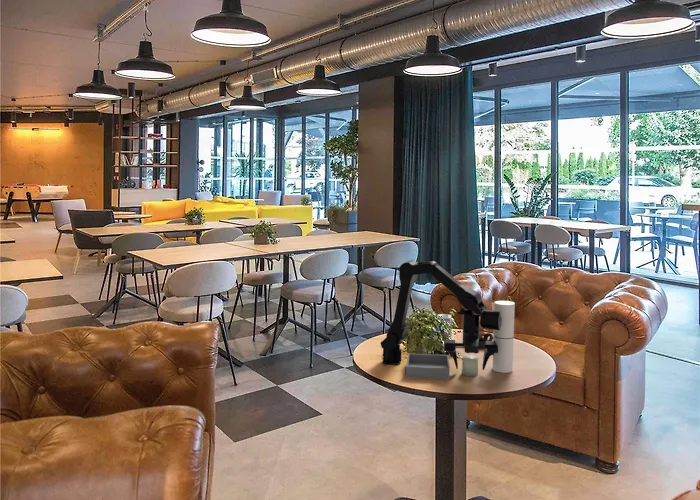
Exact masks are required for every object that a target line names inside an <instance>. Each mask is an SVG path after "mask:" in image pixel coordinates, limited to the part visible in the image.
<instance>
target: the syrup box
mask: <svg viewBox="0 0 700 500" xmlns="http://www.w3.org/2000/svg"><path fill="white" fill-rule="evenodd" d="M438 315H439V316H440V317H441V316H442V317H441V318H443V319H444V320H445V321H447V322H448V323H449V324H450V326H451V328H450V339H451V340H452V314H445V313H439V314H437V316H438Z"/></svg>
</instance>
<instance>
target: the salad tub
mask: <svg viewBox="0 0 700 500" xmlns="http://www.w3.org/2000/svg"><path fill="white" fill-rule="evenodd" d="M461 365H462V366H461V367H462V369H461V370H462V371H461V372H462V373H461V374H462V375H464V376H467V377H476V376H478V374H479V357H478V356H476V355H474V354H473V355H471V354H466V355H463V356H462V364H461Z"/></svg>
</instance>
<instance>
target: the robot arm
mask: <svg viewBox="0 0 700 500" xmlns="http://www.w3.org/2000/svg"><path fill="white" fill-rule="evenodd" d="M398 273H399V274H398V276H399V277H398V279H399V282H400V284H399V285H400V286H399V290H398V296H397V301H396V305H395V306H396V307H395V310H394V315H393V316H394V317H393V320H392V322H391V324H390V325H389V328H388V330H387V333H386V337H385V338H384V339H382V341H380V347H381V349H382V364H383V365H384V364H385V365H387V364H388V365H400V362H401V361H402V349H401V344H402V342H403V341H404V340H405V339H406V338H407V337H408V336H409V329H410V327H411V326H410V325H408V324H407V322H406V321H407V319H406V318H407V316H408V315H407V314H408V310H409V304H410V300H411V295H412V290H413V286H414V284H415V282H416V280H417V278H418V276H419V275H424V274H430V275H431V276H432V277H434V279H436V280H437V281H438V282H439V283H441V284H442V286H444V287H445V288H447V289H448V290H449V291H450V292H451V293H453V295H454V296H455V297H456V300H457V301H458V302H459V303H460V305H462V307H461V308H460V309H459V310H458V311H457V313H456V314H457V315H462V342H456V340H455V339H451V340H448V339H446V340H445V341H444V351H448V354H450V355H451V357H452V358H453V361H454V365H455V368H456V369H457V370H458V369H459V367H458V366H459V364H458V356H457V349H464V353H466V354H477V355H478V354H479V353H480V351H482V350H484V351H483V356H482V357H483V358H482V369H481V370H482V371H484V370H485V368H486V366H487V363H488V361H489V359H490V357H491V356H493V355H494V353H498V345H497V343H496V342H495V341H493V340H492V341H486V344H485V339H479V329H480V326H481V328H483V330H491V331H494V330H500V329H501V325H502V319H501V314H500V311H498V310H496V311H494V309H493V310H492V309H491V310H490V309H488V308H487V307H486V305H485V303H484V302H483V300H482V296H481V294H480V293H479V292H477V290H475V289H472V288H471V287H468V286H466V285H464V284H462V283H461V282H459V280H457V279H456V278H455V277H454V276H452V274H450V273H449V272H448V271H446V270H445V269H444V268H443V267H441V265H439V263H438V262H437V261H433V260H431V261H416V260H413V259H412V260H407V261H405V262H403V263H402V264H401V265H400V266H399V271H398Z"/></svg>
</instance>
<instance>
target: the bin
mask: <svg viewBox="0 0 700 500" xmlns="http://www.w3.org/2000/svg"><path fill="white" fill-rule="evenodd" d="M407 354H408V355H407V361H406V365H405V366H406V367H405V370H406V371H405V374H406V375H405V378H409V379H426V380H427V379H428V380H444V381H445V380H446V381H448V380H450V359H449V357H450V356H449V355H448V354H429V353H428V354H427V353H407Z"/></svg>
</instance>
